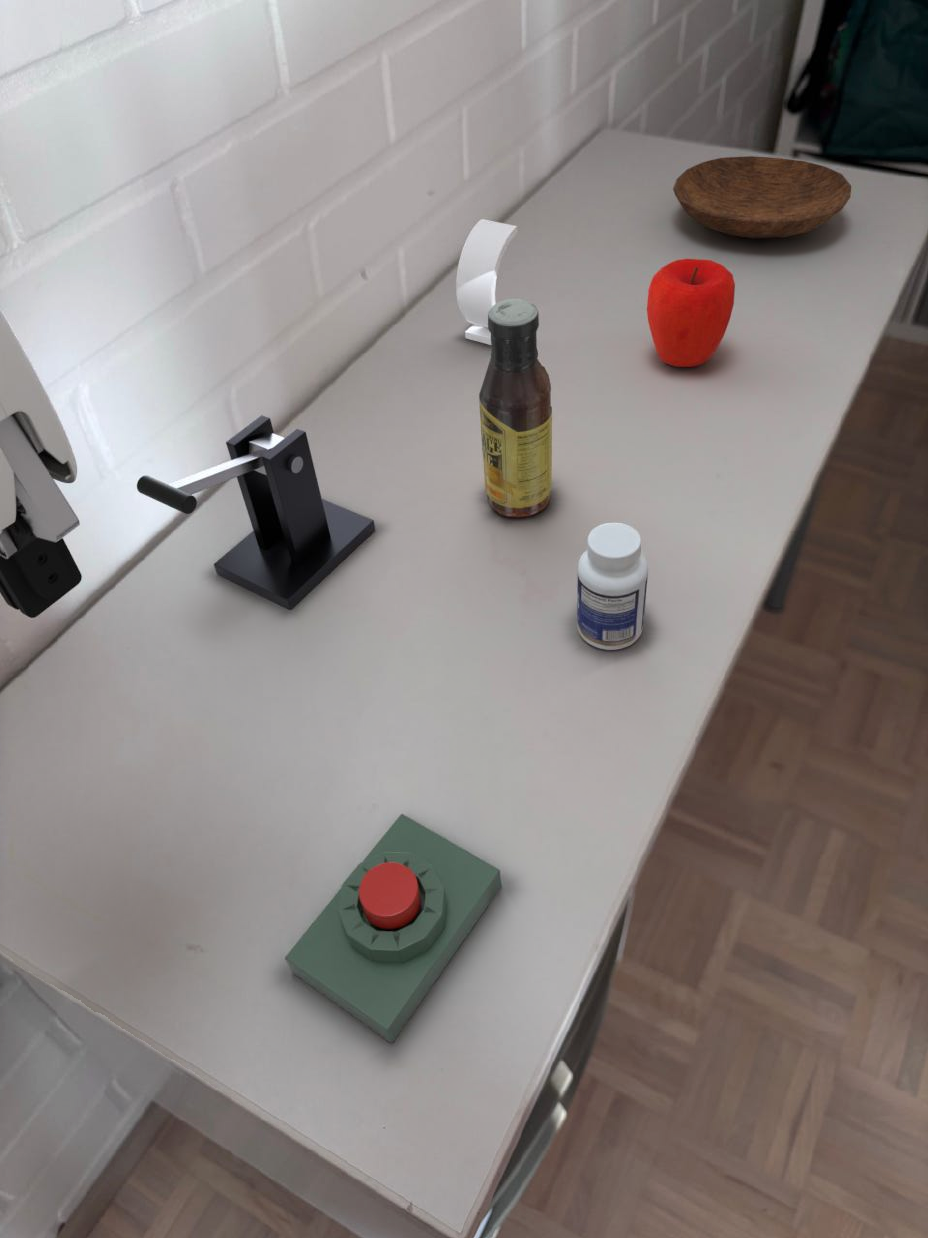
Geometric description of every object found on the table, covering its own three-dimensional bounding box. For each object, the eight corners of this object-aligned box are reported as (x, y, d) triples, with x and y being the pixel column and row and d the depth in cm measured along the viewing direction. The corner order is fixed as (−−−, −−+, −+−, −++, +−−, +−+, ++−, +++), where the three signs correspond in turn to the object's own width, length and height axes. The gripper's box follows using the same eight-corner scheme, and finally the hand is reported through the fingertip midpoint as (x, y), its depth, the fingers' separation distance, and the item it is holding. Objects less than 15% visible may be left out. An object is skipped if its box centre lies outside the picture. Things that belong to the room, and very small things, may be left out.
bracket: (290, 610, 82) (255, 494, 72) (216, 573, 86) (174, 459, 76) (375, 529, 88) (353, 414, 79) (303, 499, 92) (274, 385, 83)
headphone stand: (521, 326, 111) (517, 226, 102) (494, 351, 108) (488, 249, 99) (487, 318, 113) (481, 218, 104) (460, 342, 110) (451, 241, 101)
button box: (392, 1044, 56) (382, 1018, 53) (291, 972, 60) (277, 944, 57) (501, 886, 63) (498, 855, 60) (405, 829, 66) (398, 798, 63)
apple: (665, 391, 100) (674, 295, 92) (629, 351, 106) (634, 258, 98) (740, 371, 101) (755, 275, 94) (700, 332, 107) (711, 239, 99)
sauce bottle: (482, 484, 92) (467, 292, 77) (546, 475, 92) (543, 282, 77) (491, 528, 87) (476, 333, 73) (558, 519, 87) (557, 323, 73)
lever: (183, 522, 70) (181, 493, 69) (137, 501, 72) (135, 472, 71) (304, 471, 80) (304, 445, 78) (261, 454, 82) (260, 428, 80)
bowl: (826, 270, 115) (835, 229, 111) (651, 247, 122) (653, 208, 119) (856, 202, 126) (864, 164, 123) (694, 185, 134) (697, 148, 130)
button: (397, 940, 57) (393, 927, 55) (351, 910, 58) (346, 897, 57) (432, 893, 59) (429, 880, 57) (386, 865, 60) (383, 851, 59)
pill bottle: (597, 595, 80) (600, 507, 73) (654, 619, 78) (663, 530, 71) (564, 635, 77) (564, 547, 70) (622, 662, 75) (628, 573, 68)
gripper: (-378, 217, 33) (-109, 586, 47) (-147, 314, 27) (88, 711, 40) (-180, 140, 37) (15, 501, 51) (62, 209, 31) (213, 602, 44)
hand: (47, 593), depth 45 cm, fingers closed
